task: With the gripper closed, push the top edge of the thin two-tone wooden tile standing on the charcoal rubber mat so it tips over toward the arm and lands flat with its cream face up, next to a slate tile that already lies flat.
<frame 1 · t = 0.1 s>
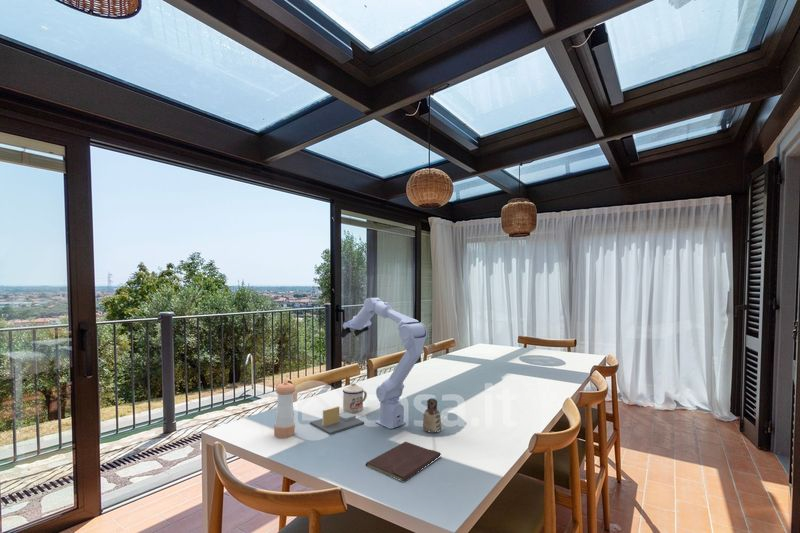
hand: (348, 335, 172), 32 cm above the table, tool tilted 50°, fingers open, 7 cm apart
slate tile: (346, 418, 154), point 1 cm above the table, touching mat
mat: (337, 423, 150), on the table
notebook: (404, 463, 119), on the table
teacup with lid: (355, 409, 167), on the table
figurine: (432, 430, 145), on the table
pepper shaker: (284, 434, 139), on the table
tile: (330, 423, 148), point 1 cm above the table, touching mat
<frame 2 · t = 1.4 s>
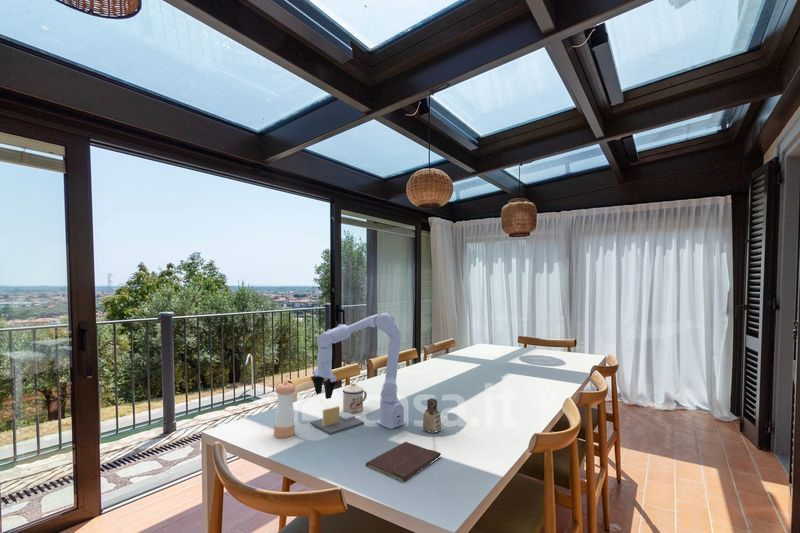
hand: (323, 395, 152), 10 cm above the table, tool pointing down, fingers open, 7 cm apart
nothing on the table moved.
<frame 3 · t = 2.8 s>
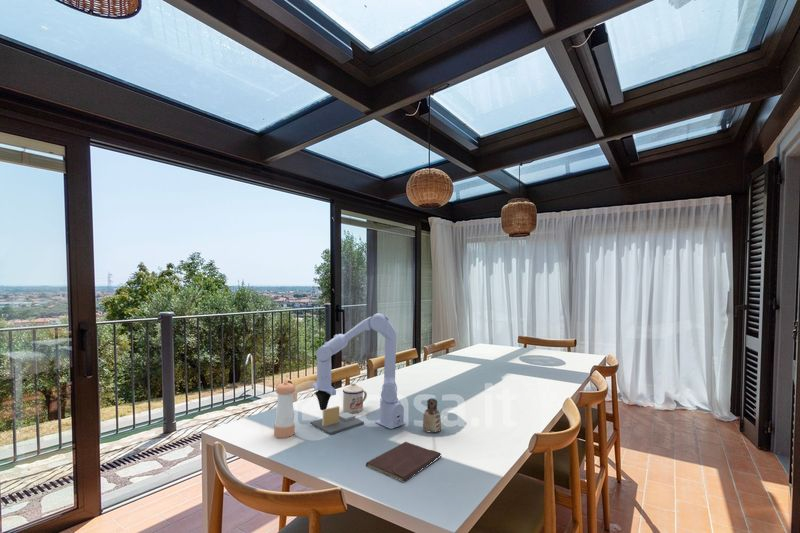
hand: (323, 409, 152), 5 cm above the table, tool pointing down, fingers closed
nothing on the table moved.
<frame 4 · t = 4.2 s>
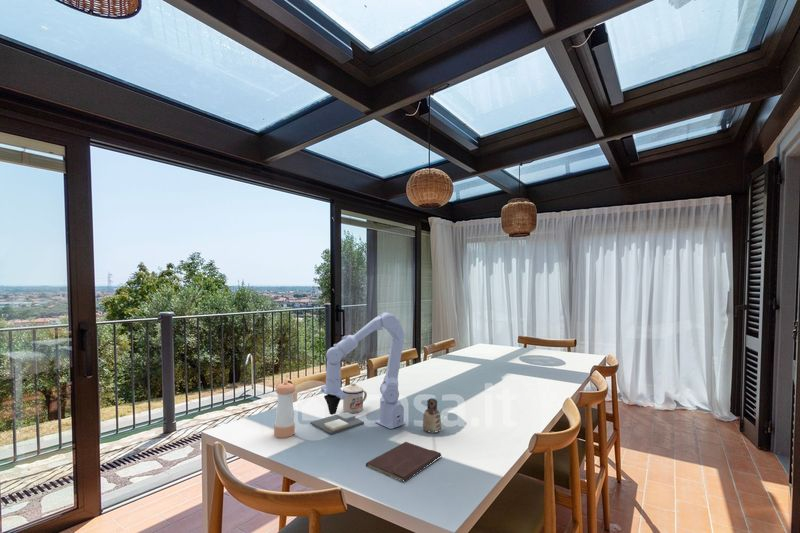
hand: (332, 413, 147), 5 cm above the table, tool pointing down, fingers closed
tile: (331, 422, 147), point 1 cm above the table, tilted 90°, touching mat
everything else where it was.
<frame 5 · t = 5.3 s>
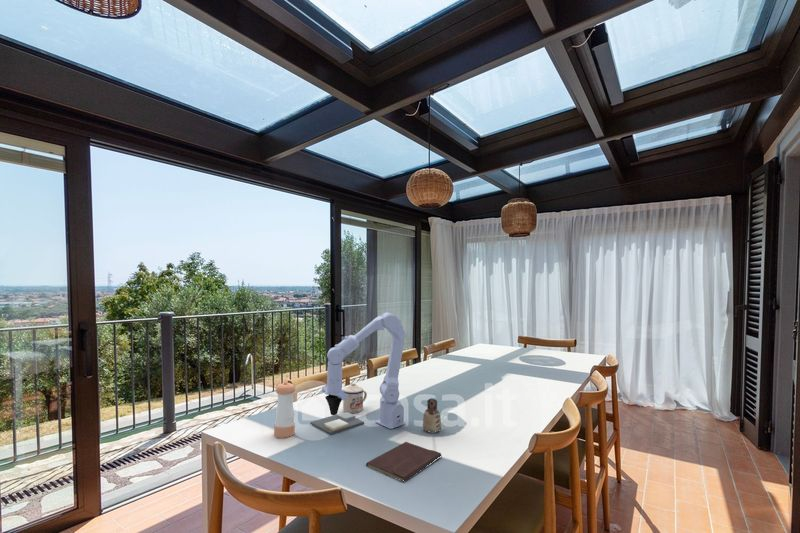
hand: (333, 414, 146), 5 cm above the table, tool pointing down, fingers closed
nothing on the table moved.
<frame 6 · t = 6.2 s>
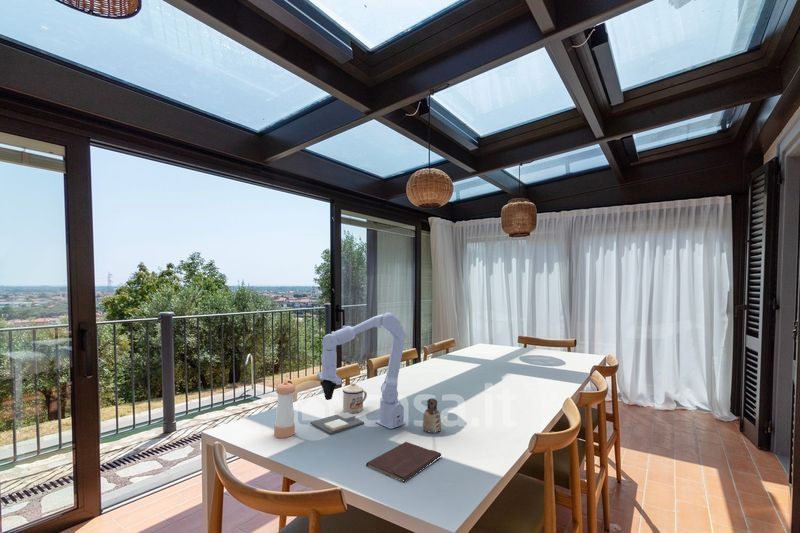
hand: (328, 399, 149), 10 cm above the table, tool pointing down, fingers closed
nothing on the table moved.
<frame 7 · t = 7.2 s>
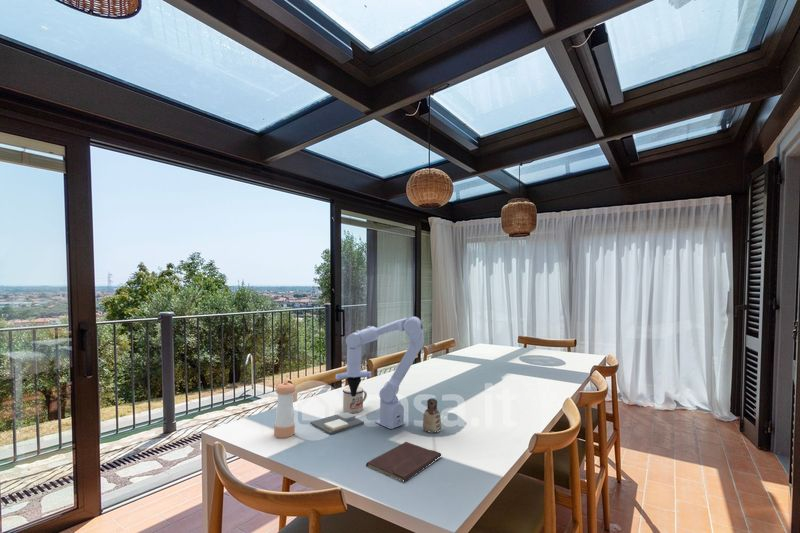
hand: (353, 395, 154), 10 cm above the table, tool pointing down, fingers closed
nothing on the table moved.
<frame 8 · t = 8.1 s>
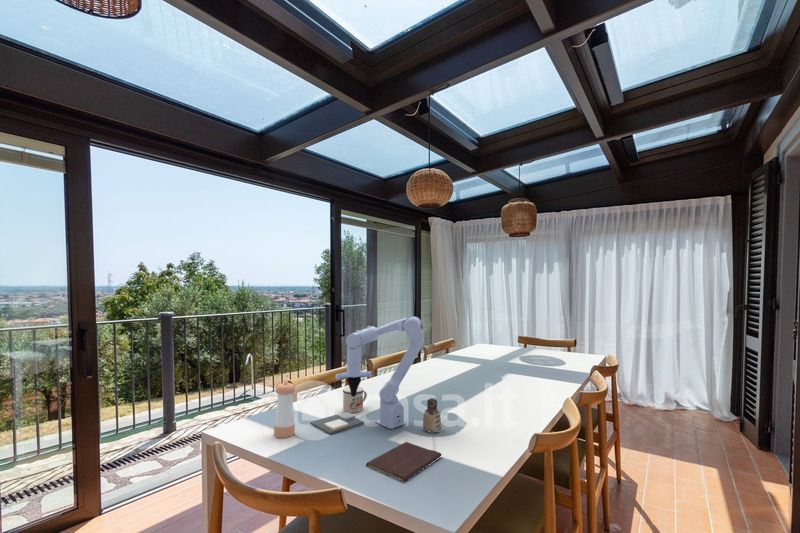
hand: (353, 395, 154), 10 cm above the table, tool pointing down, fingers closed
nothing on the table moved.
at the end: tile tilted 90°; tile point 1.4 cm above the table; tile inside the target area (3.0 cm from its centre), point 1.4 cm above the table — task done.
